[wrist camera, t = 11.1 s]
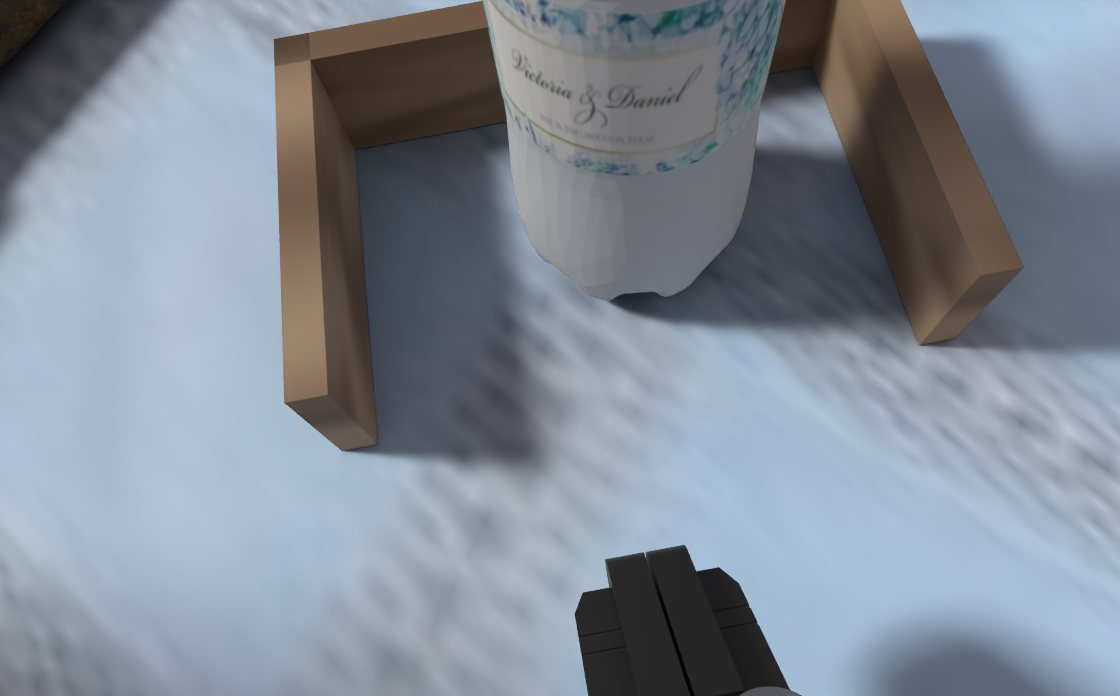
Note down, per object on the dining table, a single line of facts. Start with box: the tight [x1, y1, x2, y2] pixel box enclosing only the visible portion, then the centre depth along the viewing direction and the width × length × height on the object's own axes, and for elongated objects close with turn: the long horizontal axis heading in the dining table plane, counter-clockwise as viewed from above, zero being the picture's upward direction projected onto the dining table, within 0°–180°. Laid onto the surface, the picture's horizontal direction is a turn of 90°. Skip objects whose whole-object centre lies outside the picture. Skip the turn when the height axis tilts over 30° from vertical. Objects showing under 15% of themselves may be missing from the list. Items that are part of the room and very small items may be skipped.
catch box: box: [274, 0, 1023, 451], centre depth 22 cm, size 11×17×4 cm, turn 99°
